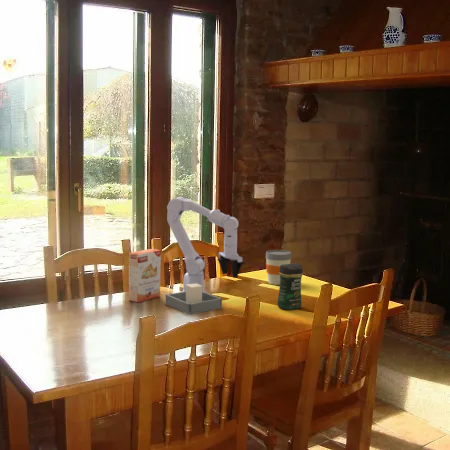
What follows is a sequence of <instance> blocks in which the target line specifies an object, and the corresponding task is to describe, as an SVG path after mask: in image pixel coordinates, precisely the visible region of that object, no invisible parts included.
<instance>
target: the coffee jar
mask: <svg viewBox="0 0 450 450" xmlns="http://www.w3.org/2000/svg"><path fill="white" fill-rule="evenodd" d="M279 275H280V285H279V289H278V297H277V307H278V308H279V309H281V310H288V311H289V310H290V311H291V310H297V309H301V307H302V286H301V285H302V277H303V275H304V272H303V265H302V264H299V263H290V264H284V265H281V266H280V270H279Z"/></svg>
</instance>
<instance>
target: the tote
mask: <svg viewBox="0 0 450 450" xmlns="http://www.w3.org/2000/svg"><path fill="white" fill-rule="evenodd" d="M205 292H206V291H204V292H203V291H202V302H198V303H192V304H189V303H187V302H186V291H185V292H182V291H179V292H173V293H167V294H165V305H167V306H169V307H171V308H173V309H176V310H178V311H180V312H183V313H185V314H187V315H194V314H199V313H204V312H209V311H215V310H218V309H219V310H220V309H223V298H222V297H218V296H216V295H213V294H210V293H208V292H207V293H205Z"/></svg>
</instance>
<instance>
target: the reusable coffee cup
mask: <svg viewBox="0 0 450 450" xmlns="http://www.w3.org/2000/svg"><path fill="white" fill-rule="evenodd" d="M292 258H293V257H292V252H291V251H290V250H285V249H284V250H283V249H272V250H271V249H270V250H266V252H265V259H266V260H265V261H266V262H265V270H266V273H267V280H268V283H269V284H271V285H277V286H280V275H279V270H280V266H281V265H284V264H291V260H292Z"/></svg>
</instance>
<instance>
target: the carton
mask: <svg viewBox="0 0 450 450" xmlns="http://www.w3.org/2000/svg"><path fill="white" fill-rule="evenodd" d="M186 302H187V303H189V304H192V303H198V302H202V286H201V285H199V284H197V283H195V284H187V285H186Z"/></svg>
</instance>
